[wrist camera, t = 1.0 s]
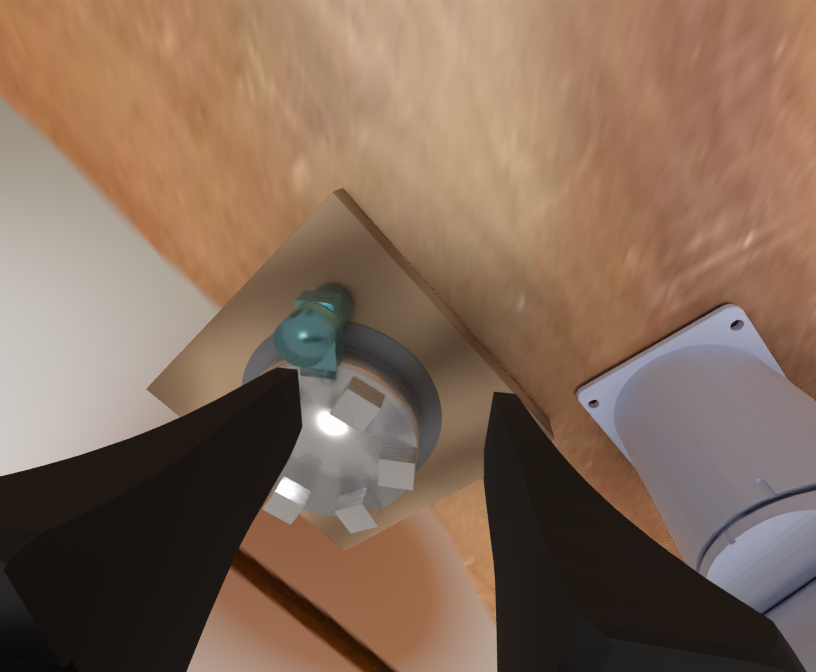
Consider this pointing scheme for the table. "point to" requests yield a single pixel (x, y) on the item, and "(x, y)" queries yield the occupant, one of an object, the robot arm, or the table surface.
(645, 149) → the table surface
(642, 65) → the table surface
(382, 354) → the dial board
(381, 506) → the rotary knob
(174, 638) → the robot arm
